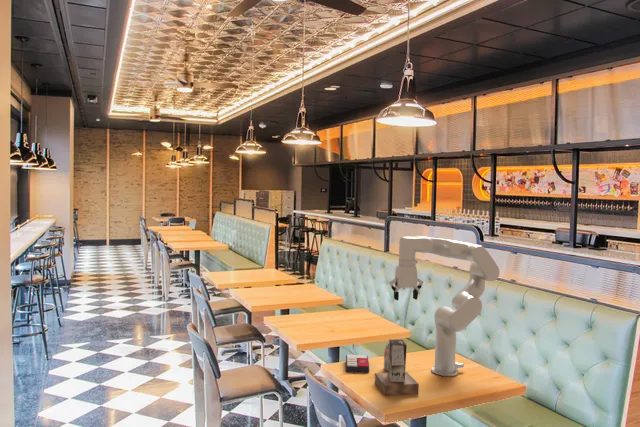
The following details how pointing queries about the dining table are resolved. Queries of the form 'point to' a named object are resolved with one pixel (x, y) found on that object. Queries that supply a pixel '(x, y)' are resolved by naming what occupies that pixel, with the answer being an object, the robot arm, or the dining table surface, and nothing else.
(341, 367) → the dining table surface
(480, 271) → the robot arm
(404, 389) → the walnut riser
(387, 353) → the beverage can
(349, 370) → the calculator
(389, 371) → the coffee box
